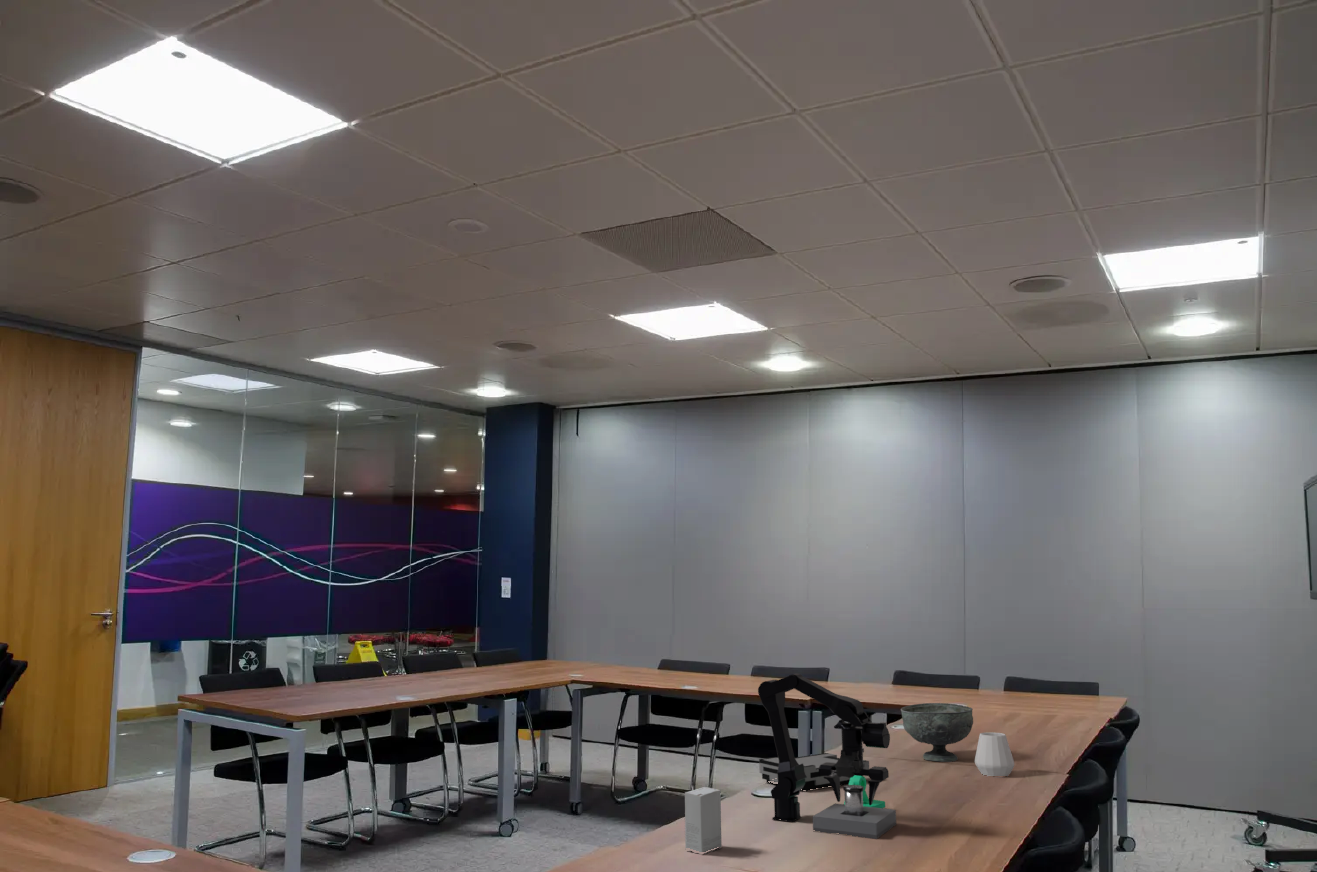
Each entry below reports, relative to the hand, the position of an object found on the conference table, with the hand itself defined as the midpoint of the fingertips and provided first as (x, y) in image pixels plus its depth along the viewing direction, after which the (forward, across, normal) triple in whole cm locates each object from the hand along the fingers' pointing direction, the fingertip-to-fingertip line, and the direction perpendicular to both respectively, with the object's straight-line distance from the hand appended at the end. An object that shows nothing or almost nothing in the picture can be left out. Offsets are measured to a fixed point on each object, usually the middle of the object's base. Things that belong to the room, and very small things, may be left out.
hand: (854, 803), depth 274 cm
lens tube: (+6, 0, 0) cm, 6 cm away
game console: (+7, -33, +56) cm, 65 cm away
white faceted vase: (+7, +19, +96) cm, 98 cm away
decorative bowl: (+7, -6, +118) cm, 118 cm away
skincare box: (+7, -27, -40) cm, 49 cm away
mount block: (+7, 0, 0) cm, 7 cm away
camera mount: (+7, -4, +20) cm, 22 cm away
